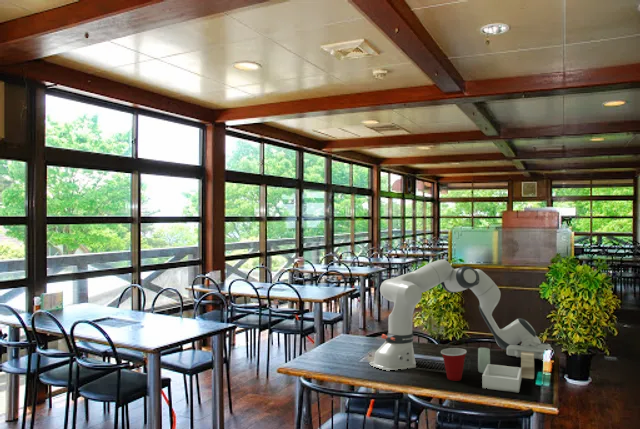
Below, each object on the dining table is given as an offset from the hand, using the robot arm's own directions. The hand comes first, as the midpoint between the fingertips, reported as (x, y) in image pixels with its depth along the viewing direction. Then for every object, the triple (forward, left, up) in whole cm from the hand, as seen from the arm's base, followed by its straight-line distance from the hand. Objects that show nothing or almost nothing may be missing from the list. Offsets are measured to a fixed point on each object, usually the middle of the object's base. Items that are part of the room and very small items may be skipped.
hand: (529, 356), depth 226 cm
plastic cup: (-39, +11, -6) cm, 40 cm away
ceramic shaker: (-20, +9, -6) cm, 22 cm away
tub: (-28, -5, -6) cm, 29 cm away
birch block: (-11, -6, -6) cm, 13 cm away
